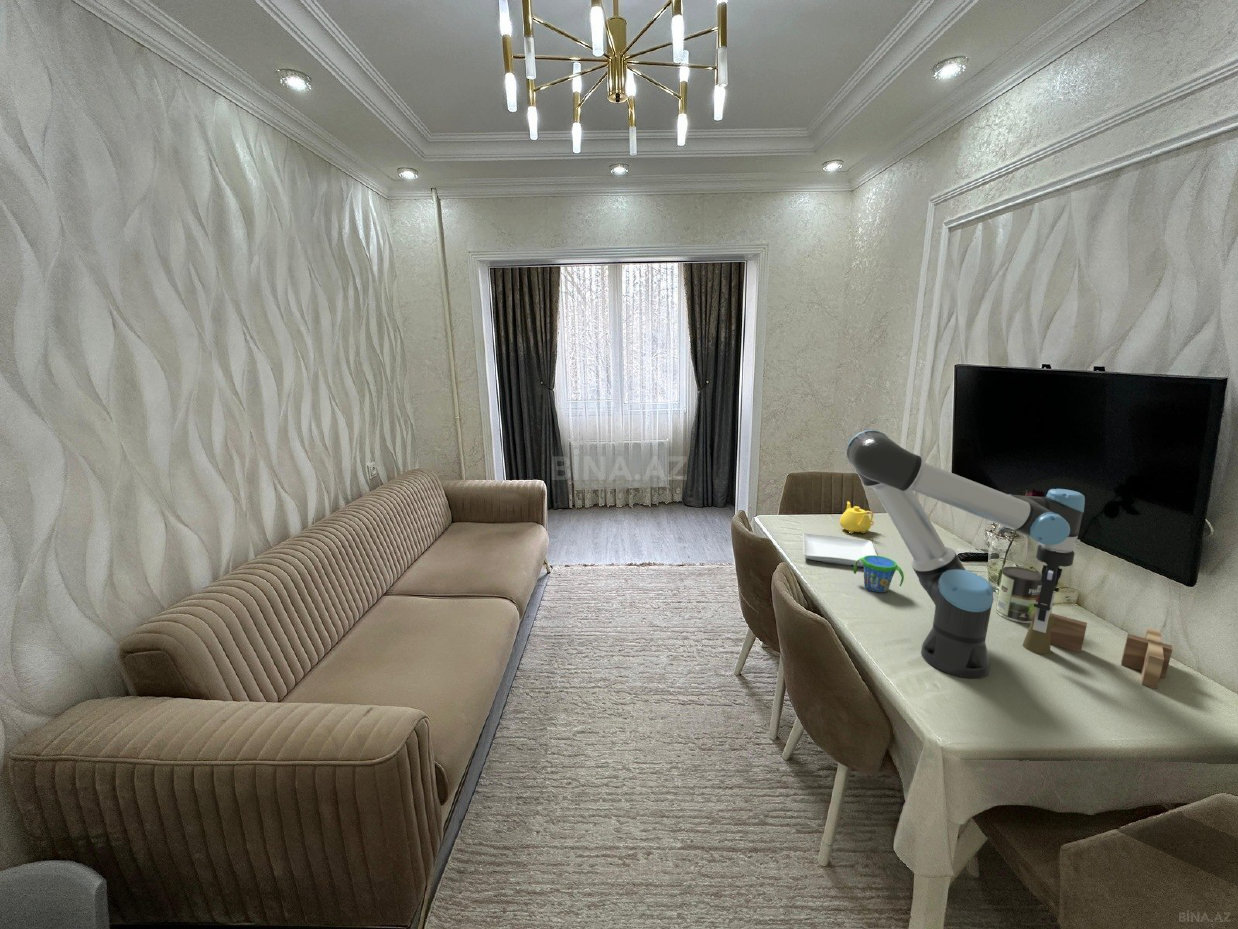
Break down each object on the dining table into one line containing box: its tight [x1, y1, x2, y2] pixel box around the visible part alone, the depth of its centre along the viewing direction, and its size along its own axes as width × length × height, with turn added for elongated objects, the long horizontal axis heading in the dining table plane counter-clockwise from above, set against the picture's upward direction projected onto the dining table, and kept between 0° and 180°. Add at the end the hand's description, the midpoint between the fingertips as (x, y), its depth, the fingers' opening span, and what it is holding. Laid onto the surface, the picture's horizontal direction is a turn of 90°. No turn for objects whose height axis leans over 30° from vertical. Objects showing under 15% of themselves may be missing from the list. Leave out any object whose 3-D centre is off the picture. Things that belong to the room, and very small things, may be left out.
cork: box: [1022, 610, 1055, 656], centre depth 142 cm, size 6×6×11 cm
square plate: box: [802, 532, 878, 568], centre depth 208 cm, size 27×27×4 cm
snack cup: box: [852, 555, 905, 594], centre depth 177 cm, size 16×10×10 cm
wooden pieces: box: [1050, 612, 1173, 690], centre depth 138 cm, size 18×24×8 cm
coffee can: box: [995, 566, 1042, 624], centre depth 160 cm, size 10×10×14 cm
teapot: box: [839, 501, 875, 534], centre depth 235 cm, size 20×15×12 cm
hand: (1042, 621), depth 141 cm, fingers open, 13 cm apart
